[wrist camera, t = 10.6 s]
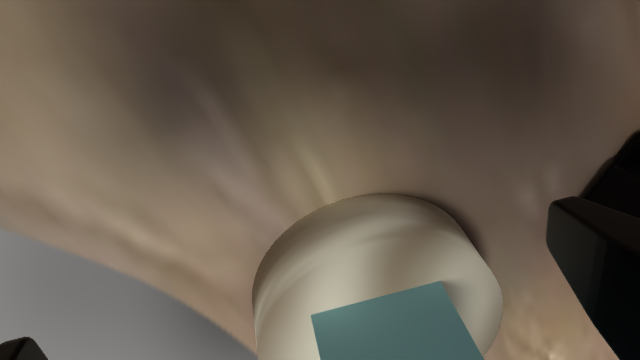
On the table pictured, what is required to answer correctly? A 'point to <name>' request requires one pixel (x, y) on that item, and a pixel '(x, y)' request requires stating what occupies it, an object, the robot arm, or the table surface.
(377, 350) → the teal block
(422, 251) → the birch riser
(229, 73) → the table surface
